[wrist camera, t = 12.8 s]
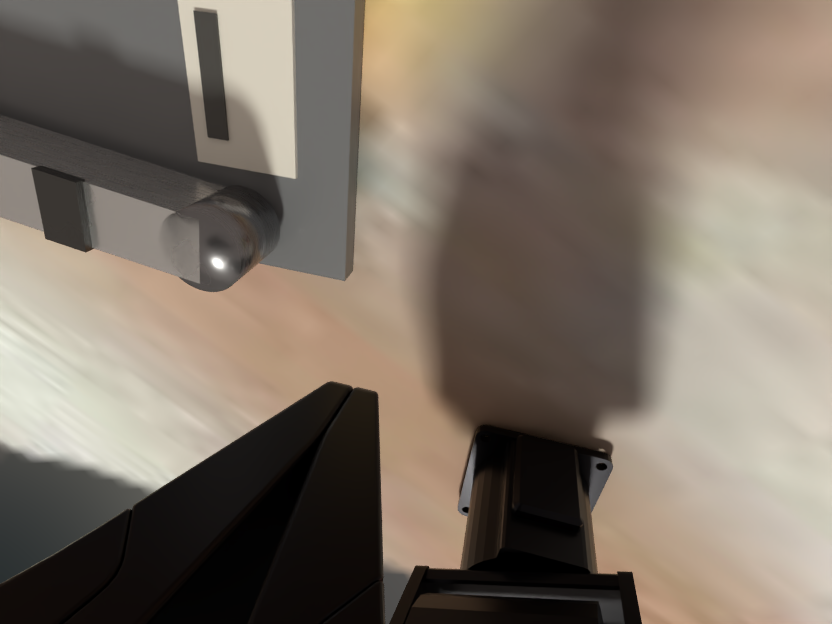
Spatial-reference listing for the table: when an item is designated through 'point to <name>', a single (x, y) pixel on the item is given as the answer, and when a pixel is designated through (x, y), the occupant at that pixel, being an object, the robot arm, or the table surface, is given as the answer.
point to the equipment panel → (207, 99)
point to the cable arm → (132, 207)
